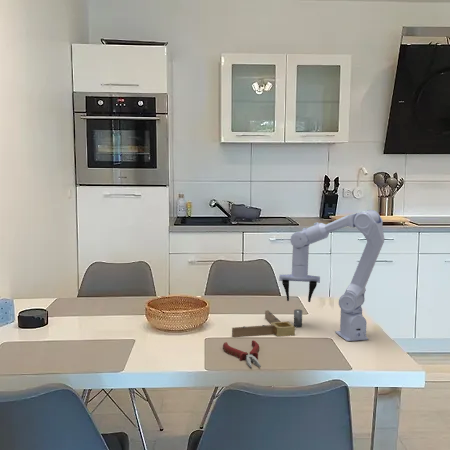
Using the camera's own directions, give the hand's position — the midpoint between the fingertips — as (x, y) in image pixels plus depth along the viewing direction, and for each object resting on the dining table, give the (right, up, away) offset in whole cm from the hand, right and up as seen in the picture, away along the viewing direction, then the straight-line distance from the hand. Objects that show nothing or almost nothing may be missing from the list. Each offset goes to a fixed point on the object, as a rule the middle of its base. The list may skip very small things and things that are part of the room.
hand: (298, 300), depth 197 cm
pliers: (-22, -14, -29) cm, 39 cm away
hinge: (-16, -10, -1) cm, 18 cm away
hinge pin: (0, -10, +1) cm, 10 cm away
